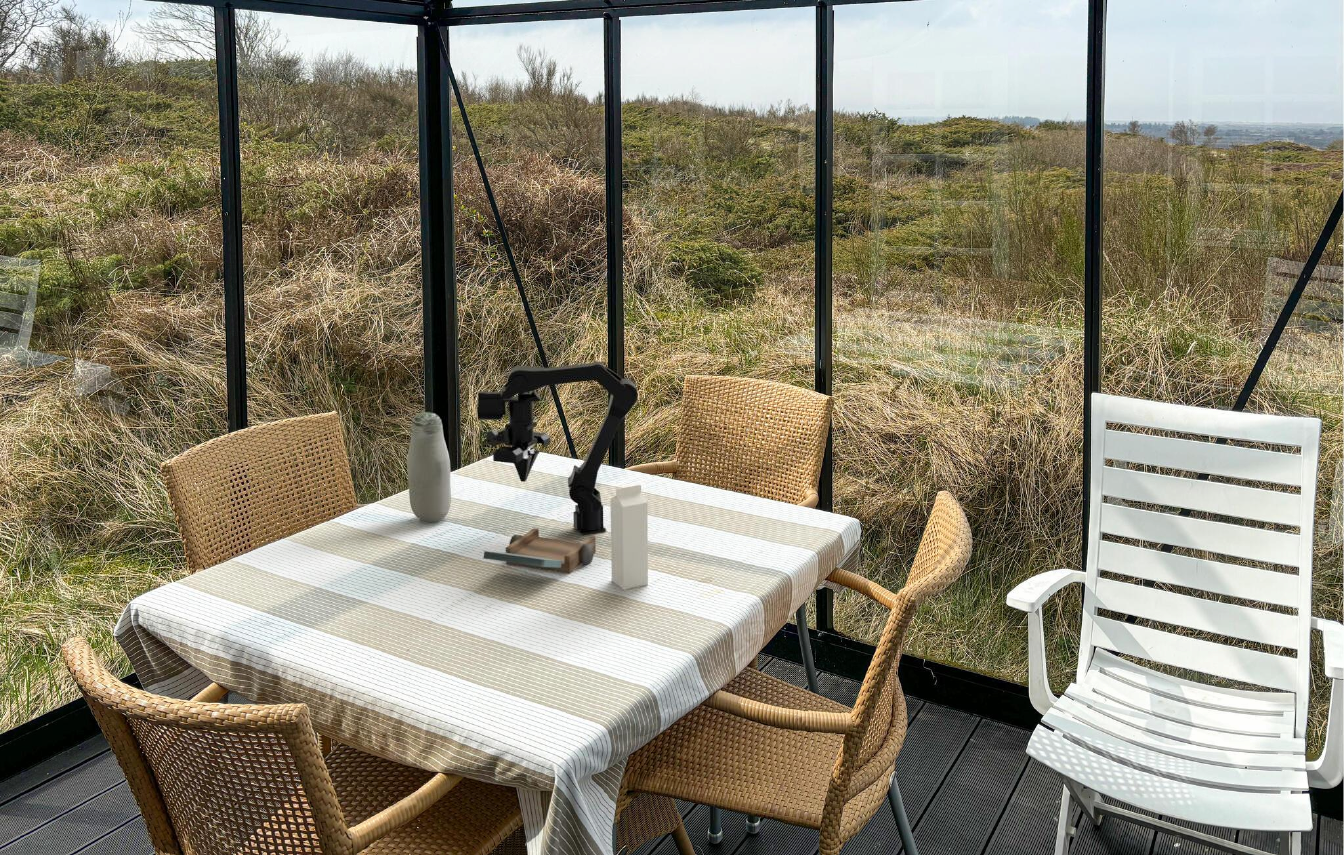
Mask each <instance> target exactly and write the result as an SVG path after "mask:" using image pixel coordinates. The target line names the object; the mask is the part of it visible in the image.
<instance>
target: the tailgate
mask: <svg viewBox="0 0 1344 855" xmlns="http://www.w3.org/2000/svg"><path fill="white" fill-rule="evenodd" d="M483 559H484V560H485V559H486V560H491V561H492V560H493V561H498V562H504V563H506V562H511V563H518V564H525V565H531V566H538V567H559V568H561V563H562V561H560V560H552V559H545V558H538V557H531V556H524V555H517V554H510V553H506V552H502V551H501V552H500V551H499V552H498V551H488V550H484V551H483Z"/></svg>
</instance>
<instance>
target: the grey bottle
mask: <svg viewBox="0 0 1344 855" xmlns="http://www.w3.org/2000/svg"><path fill="white" fill-rule="evenodd" d="M410 429H411V433H410V434H411V435H410V443H409V447H408V451H407V458H406V470H407V471H406V472H407V481H408V483H407V484H408V493H409V494H408V495H409V496H408V497H409V505H410V508H411V511H412V512H413V514H414V516H415V517H416V518H417V519H419V520H420V521H423V522H428V523H433V522H439V521H441V520H442V519H444V518H445V517H446V516H447V515H448V513H449V511H450V508H451V504H452V489H451V488H452V487H451V460H450V455H449V451H448V448H447V443H446V440H445V437H444V436H445V435H444V429H443V423H442V419H441V418H440V416H439V415H438V414H436V413H433V412H430V411H426V412H419V413H417V414H416V415H415V416H414V417H413V419H412V422H411V428H410Z"/></svg>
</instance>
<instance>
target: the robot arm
mask: <svg viewBox="0 0 1344 855" xmlns="http://www.w3.org/2000/svg"><path fill="white" fill-rule="evenodd" d="M591 381H594V382H595V381H596V382H597V383H598V384H599V385H600V386H601V387H603V389H604V390H605V391H607V392H608V393H609V394H610V398H609V402H608V406H607V411H606V413H605V416H604V418H603V420H602V423H601V425H600V427H599V429H598V430H597V433H596V436H595V438H594V440H593V442H592V444H591V446H590V448H589V451H588V453H587V455H586V457H585V460H584V462H583V463H582V464H581V465H580V466H577V465H576V464H575V465H573V468H572V472H571V474H570V475H569V477H567V485H568V486H567V487H568V495H569V497H570V499H571V500H572V501H573V503H575V506H574V508H575V509H574V510H575V511H574V512H572V513H573V514H572V515H573V517H572V518H573V526H572V527H573V528H574V529H575V530H576V531H577V532H578V533H579V534H580V535H588V534H594V533H596V534H597V533H603V532H607V528H606V527H605V526H604V505H603V504H602V497H601V492H600V491H599V489H597V488H596V487H595V486H596V485H597V484H596V483H597V477H598V473H599V469H600V468H601V465H602V463H603V462H604V459H605V457H606V455H607V452H608V450H609V449H610V445H611V443H612V441H613V440H614V437H615V435H616V432H618V429H619V426H620V424H621V422H622V420H624V418H625V417H626V416H627V415H628V413H630V411H631V410H632V408H633V406H635V404H636V402H637V400H638V398H639V394H638V390H637V387H636V385H635V383H634V382H633V380H632V379H629V378H623V377H621V376H620V375H618V374H617V373H615V371H613V370H612V369H610V368H608V367H607V366H605V364H604V363H602V362H601V361H594V362H589V363H582V364H581V363H580V364H570V365H560V366H552V367H539V366H535V365H534V366H533V365H516V366H514V367H512V368H511V369H510V371H509V372H508V376H507V381H506V383H505V384H504V385H503V386H502V388H501V391H481V390H479V391H478V392H477V408H476V412H477V413H476V415H477V420H478V421H494V420H495V421H498V420H499V421H501V420H503V418H504V416H507V403H508V418H509V422H507V423H506V425H504V428H502V429H499V430H498V429H497V430H496V429H491V430H488V431H487V432H486V435H485V443H487V445H490V446H491V448H495V447H496V446H498V445H502V444H504V445H502V446H500V447H498V448H496V449H495V450H493V452H492V460H493V462H497V463H498V462H499V463H505V464H506V463H507V464H513V465H514V467H515V469H516V473H517V475H518V477H519V479H520V482H527V480H528V478H529V475H530V472H531V470H532V468H533V466H534V464H535V462H536V460H537V457H538V455H540V451H539V450H535V447H534V446H535V445H537V444H541V445H542V447H544V448H547V447H548V446H550V445H551V437H550V435H549V434H548V433H547V432H538V431H534V428H536V427H538V423H537V421H534V402H540V401H541V395H539V394H538V393H537V392H536V391H537V390H538V389H541V388H543V387H547V386H554V385H563V384H571V383H581V382H582V383H583V382H591ZM516 395H517V396H516Z"/></svg>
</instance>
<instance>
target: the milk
mask: <svg viewBox="0 0 1344 855" xmlns="http://www.w3.org/2000/svg"><path fill="white" fill-rule="evenodd" d="M615 493H616V494H615V496H613V497H612V498H610V500H609V501H610V502H609V503H610V546H611V547H610V550H611V552H610V554H611V555H610V558H611V559H610V560H611V561H610V562H611V581H612V582H613V583H614V584H615V585H617V586H618V587H619V588H621V589H622V590H624V591H625V590H630V589H634V588H635V589H636V588H638V587H639V588H641V587H644V586H647V585H649V567H648V566H649V561H648V560H649V554H648V550H649V549H648V548H649V547H648V545H649V544H648V541H649V540H648V537H649V536H648V528H649V527H648V521H649V520H648V501H647V499H646V497H645V496H644V494H643V493H642V486H641V485H640V484H636V485H630V486H625V487H619V488H616V491H615Z"/></svg>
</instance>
